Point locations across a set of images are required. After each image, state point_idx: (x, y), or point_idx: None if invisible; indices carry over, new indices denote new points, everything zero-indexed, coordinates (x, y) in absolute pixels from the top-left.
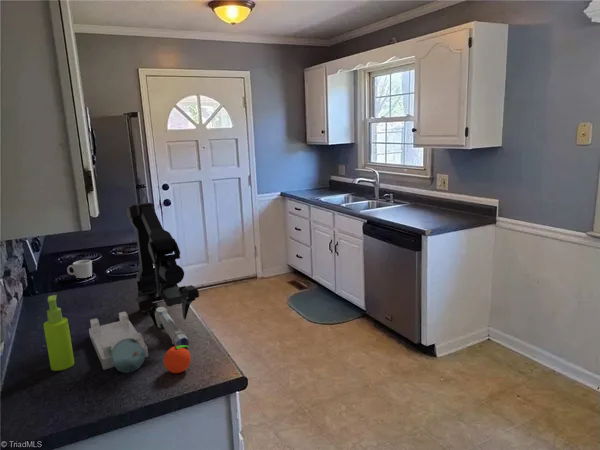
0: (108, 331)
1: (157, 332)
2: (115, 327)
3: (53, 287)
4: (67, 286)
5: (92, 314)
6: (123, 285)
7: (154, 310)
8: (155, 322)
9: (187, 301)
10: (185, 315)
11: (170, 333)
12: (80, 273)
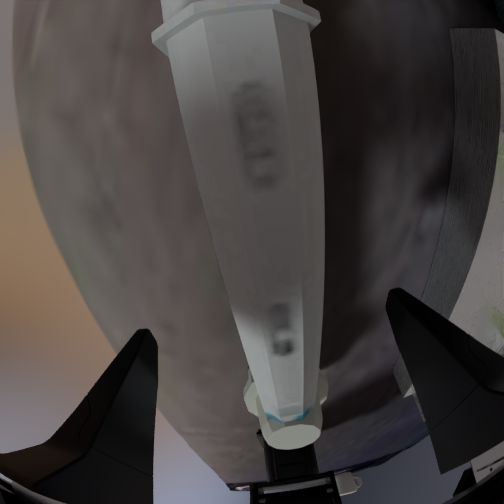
0: (495, 325)
1: (329, 307)
2: None
3: (383, 458)
4: (369, 462)
5: (404, 419)
6: None
7: None
8: (421, 312)
9: (31, 485)
10: (127, 354)
11: (317, 120)
12: (349, 480)
